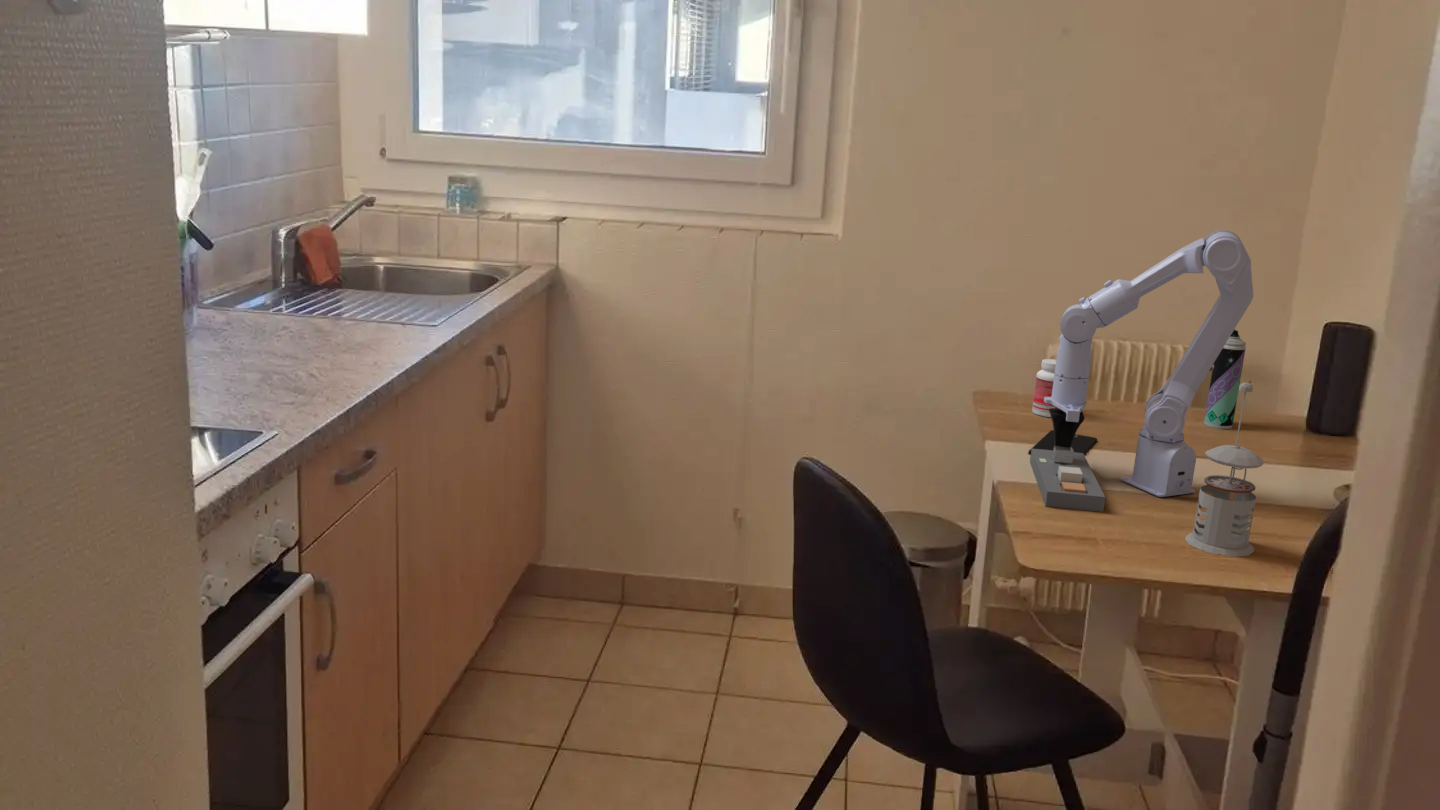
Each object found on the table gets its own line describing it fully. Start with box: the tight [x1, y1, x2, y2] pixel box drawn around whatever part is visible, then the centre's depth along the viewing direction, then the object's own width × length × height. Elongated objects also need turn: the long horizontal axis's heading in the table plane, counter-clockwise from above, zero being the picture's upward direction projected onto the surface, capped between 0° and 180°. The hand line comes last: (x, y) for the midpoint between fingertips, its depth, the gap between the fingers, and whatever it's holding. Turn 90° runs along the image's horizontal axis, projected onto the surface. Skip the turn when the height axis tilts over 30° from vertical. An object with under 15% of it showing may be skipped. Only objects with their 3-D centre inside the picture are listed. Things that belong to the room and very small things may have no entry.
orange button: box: [1061, 482, 1086, 493], centre depth 202 cm, size 3×3×2 cm
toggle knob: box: [1053, 446, 1074, 464], centre depth 215 cm, size 2×3×2 cm
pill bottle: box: [1031, 358, 1058, 418], centre depth 255 cm, size 6×6×11 cm
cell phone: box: [1027, 429, 1098, 456], centre depth 233 cm, size 9×18×1 cm, turn 152°
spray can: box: [1203, 328, 1247, 430], centre depth 252 cm, size 6×6×20 cm
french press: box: [1185, 382, 1265, 558], centre depth 185 cm, size 10×12×25 cm
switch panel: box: [1029, 448, 1106, 513], centre depth 211 cm, size 24×9×3 cm, turn 172°
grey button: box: [1057, 466, 1083, 483], centre depth 206 cm, size 3×3×2 cm
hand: (1061, 451), depth 217 cm, fingers closed
